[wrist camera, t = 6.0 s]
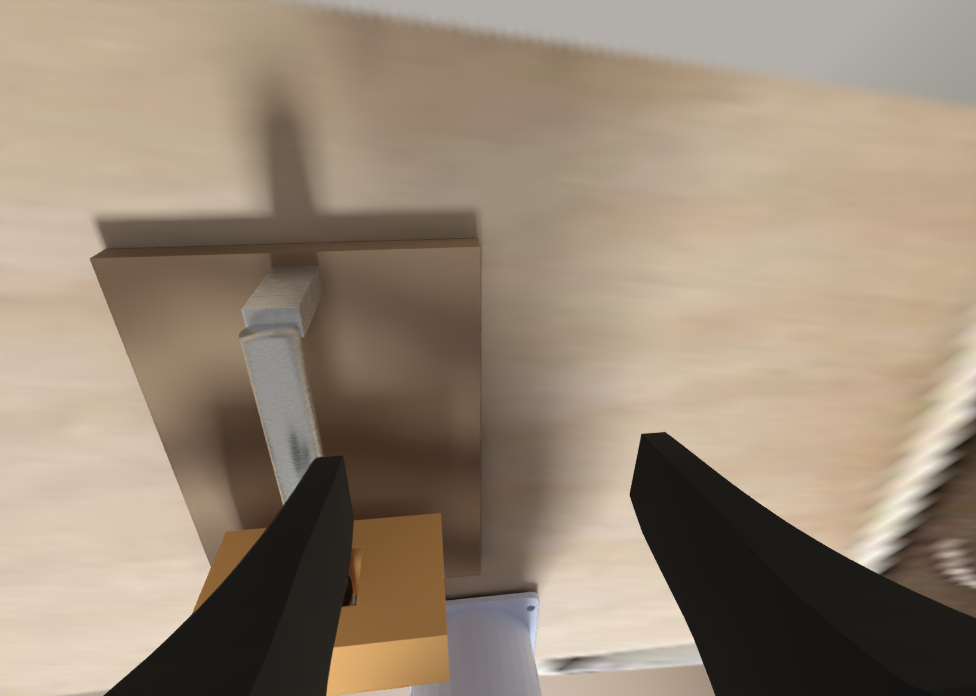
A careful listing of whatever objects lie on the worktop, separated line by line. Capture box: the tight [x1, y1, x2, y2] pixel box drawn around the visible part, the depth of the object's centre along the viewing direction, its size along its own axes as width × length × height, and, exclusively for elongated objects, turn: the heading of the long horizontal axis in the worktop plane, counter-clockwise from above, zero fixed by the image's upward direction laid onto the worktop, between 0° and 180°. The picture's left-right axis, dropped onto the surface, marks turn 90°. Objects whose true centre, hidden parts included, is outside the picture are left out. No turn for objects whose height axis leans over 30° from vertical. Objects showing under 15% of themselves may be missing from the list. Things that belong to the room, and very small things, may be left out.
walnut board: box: [90, 238, 480, 578], centre depth 22 cm, size 18×13×1 cm
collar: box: [192, 513, 450, 696], centre depth 21 cm, size 3×9×6 cm, turn 89°
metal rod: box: [239, 265, 357, 607], centre depth 20 cm, size 17×2×5 cm, turn 0°
